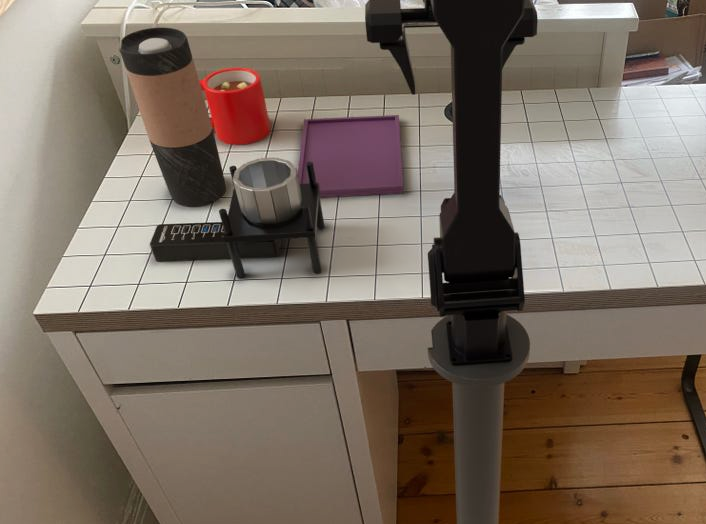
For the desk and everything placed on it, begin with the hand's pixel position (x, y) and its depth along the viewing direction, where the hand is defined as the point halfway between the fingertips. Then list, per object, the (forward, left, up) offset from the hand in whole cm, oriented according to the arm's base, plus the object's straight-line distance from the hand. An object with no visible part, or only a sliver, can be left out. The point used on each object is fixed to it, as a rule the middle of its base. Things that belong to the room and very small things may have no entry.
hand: (452, 91), depth 89 cm
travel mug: (+4, +34, -14) cm, 37 cm away
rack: (-10, +22, -14) cm, 28 cm away
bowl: (-10, +22, -8) cm, 25 cm away
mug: (+20, +32, -14) cm, 40 cm away
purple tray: (+11, +14, -14) cm, 22 cm away
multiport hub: (-9, +29, -14) cm, 34 cm away
